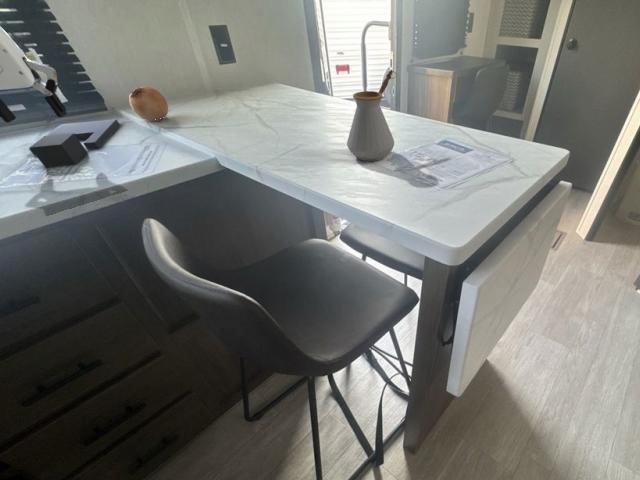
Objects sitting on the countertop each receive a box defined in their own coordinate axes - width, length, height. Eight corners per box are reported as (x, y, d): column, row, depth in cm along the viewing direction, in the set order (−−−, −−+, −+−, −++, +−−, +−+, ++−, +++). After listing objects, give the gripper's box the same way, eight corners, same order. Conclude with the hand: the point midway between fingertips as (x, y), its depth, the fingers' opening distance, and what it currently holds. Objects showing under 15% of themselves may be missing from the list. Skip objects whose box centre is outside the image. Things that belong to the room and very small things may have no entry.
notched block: (34, 155, 78) (28, 148, 77) (64, 129, 91) (61, 124, 90) (98, 148, 81) (94, 142, 80) (119, 124, 94) (116, 119, 93)
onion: (159, 134, 97) (134, 105, 87) (138, 120, 98) (111, 90, 89) (182, 115, 99) (160, 85, 90) (161, 102, 101) (137, 71, 91)
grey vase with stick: (384, 167, 72) (381, 91, 62) (340, 160, 75) (329, 86, 64) (413, 136, 86) (414, 70, 75) (374, 132, 89) (371, 67, 78)
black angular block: (45, 167, 73) (29, 147, 70) (59, 155, 78) (44, 135, 75) (75, 164, 74) (61, 144, 71) (87, 152, 79) (73, 132, 76)
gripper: (-119, 18, 53) (-20, 128, 65) (4, 13, 57) (76, 118, 69) (-88, 15, 58) (-1, 117, 70) (24, 10, 62) (88, 109, 74)
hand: (37, 117), depth 70 cm, fingers open, 9 cm apart
